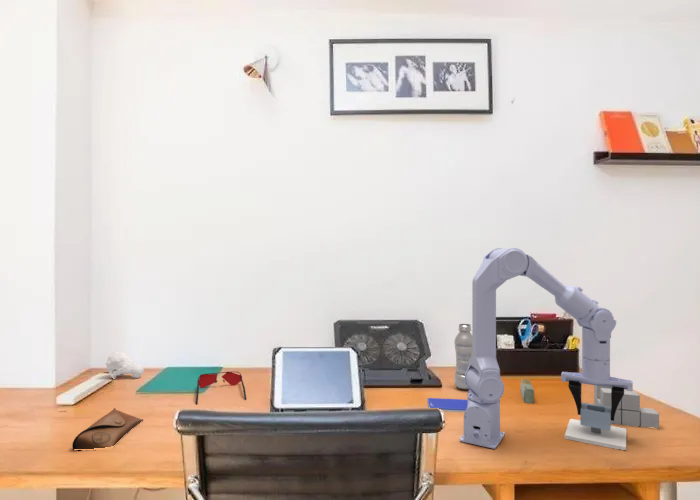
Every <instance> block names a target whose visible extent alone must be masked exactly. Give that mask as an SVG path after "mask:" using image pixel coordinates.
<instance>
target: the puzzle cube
mask: <svg viewBox="0 0 700 500" xmlns="http://www.w3.org/2000/svg"><path fill="white" fill-rule="evenodd" d="M593 386H594V387H593V390H594V391H593V393H594V395H593V396H594V397H593V398H594V399H593V404H595V405H601V406H607V407H611V390H612V388H611V387H604V386H597V385H593ZM655 409H656V408H651V407H650V408H649V407H641V396H640V394H639V393H638V392H637V391H636V390H633V391H627V390H625V389H624V395H623V397H622V399H621V401H620V402H619V404H618V407H617V409H616V412H615V417H614V421H612V420H611V425H616V424H617V425H618V426H625V425H628V426H627V427H634V426H641V427H640V428H643V427H654V428H659V429H660V413H659V412H658V411H657V410H655ZM621 424H622V425H621Z"/></svg>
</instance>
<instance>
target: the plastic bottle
mask: <svg viewBox="0 0 700 500" xmlns="http://www.w3.org/2000/svg"><path fill="white" fill-rule="evenodd" d="M458 331H459V333H457V334H456V336H455V337H454V349H455V362H456V363H455V374H454V379H453V381H454V385H455V386H456V388H457V389H461V390H469V387H468V386H467V385H466V383H465V373H466V371H467V369H468V365H469V359H470V358H471V356H472V333H471V331H472V326H471V324H469V323H459V325H458Z"/></svg>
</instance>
